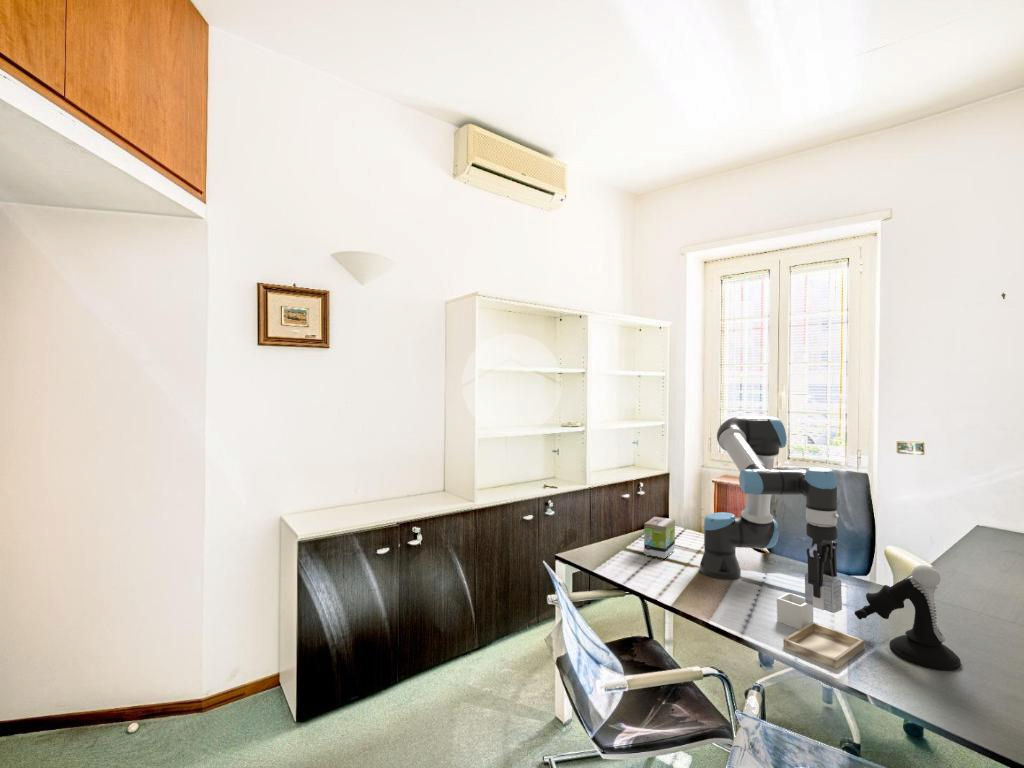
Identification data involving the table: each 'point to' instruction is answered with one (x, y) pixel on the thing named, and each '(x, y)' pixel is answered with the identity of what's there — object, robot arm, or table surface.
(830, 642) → the birch tray
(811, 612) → the pen cup
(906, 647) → the sculpture
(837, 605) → the medicine box
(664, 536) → the tea box
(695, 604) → the table surface
